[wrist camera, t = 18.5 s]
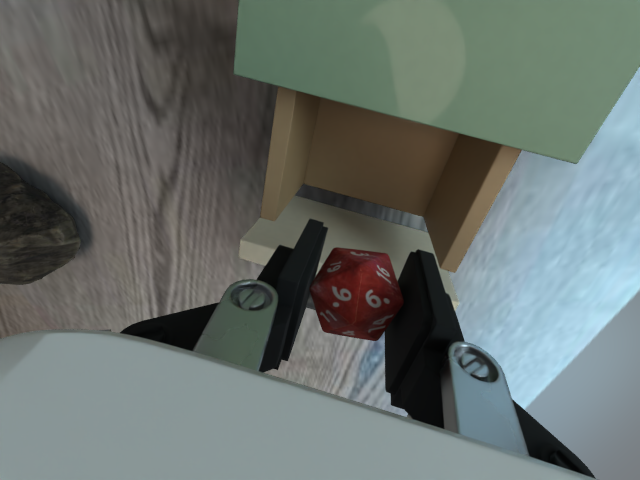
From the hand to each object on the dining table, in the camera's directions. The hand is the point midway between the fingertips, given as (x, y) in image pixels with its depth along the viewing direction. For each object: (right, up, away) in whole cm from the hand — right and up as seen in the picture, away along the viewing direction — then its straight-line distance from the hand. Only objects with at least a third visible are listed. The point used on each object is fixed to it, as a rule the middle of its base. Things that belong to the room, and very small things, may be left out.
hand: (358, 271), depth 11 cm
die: (0, 0, 0) cm, 0 cm away
